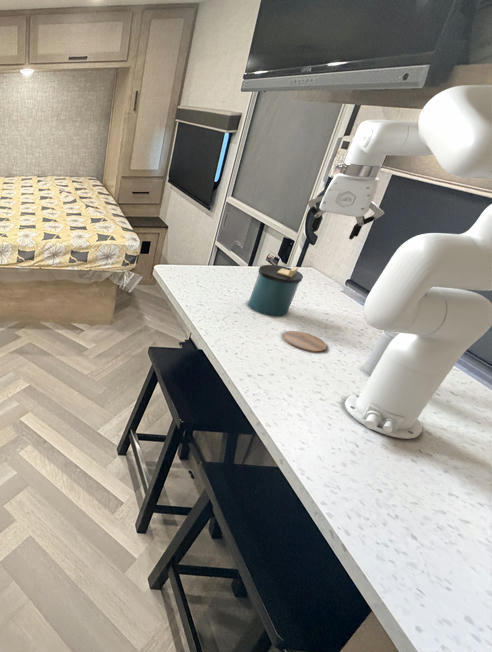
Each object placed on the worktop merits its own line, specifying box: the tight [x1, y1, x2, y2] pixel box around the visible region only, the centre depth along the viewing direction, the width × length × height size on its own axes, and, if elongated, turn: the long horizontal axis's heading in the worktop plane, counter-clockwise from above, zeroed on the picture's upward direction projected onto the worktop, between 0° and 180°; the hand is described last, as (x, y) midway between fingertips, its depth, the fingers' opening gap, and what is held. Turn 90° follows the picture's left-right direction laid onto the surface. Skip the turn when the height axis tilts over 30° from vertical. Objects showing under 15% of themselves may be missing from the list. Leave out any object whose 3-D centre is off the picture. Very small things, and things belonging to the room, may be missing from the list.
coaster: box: [283, 330, 327, 353], centre depth 114 cm, size 10×10×1 cm
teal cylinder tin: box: [247, 264, 304, 318], centre depth 128 cm, size 12×12×13 cm
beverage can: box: [362, 331, 400, 376], centre depth 99 cm, size 5×5×12 cm
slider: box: [277, 266, 299, 277], centre depth 124 cm, size 4×4×2 cm
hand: (332, 234), depth 113 cm, fingers open, 7 cm apart
